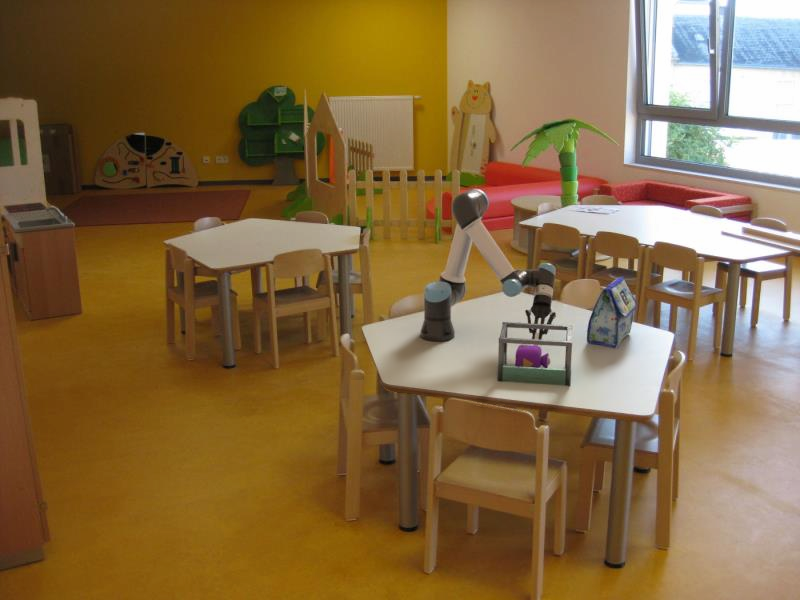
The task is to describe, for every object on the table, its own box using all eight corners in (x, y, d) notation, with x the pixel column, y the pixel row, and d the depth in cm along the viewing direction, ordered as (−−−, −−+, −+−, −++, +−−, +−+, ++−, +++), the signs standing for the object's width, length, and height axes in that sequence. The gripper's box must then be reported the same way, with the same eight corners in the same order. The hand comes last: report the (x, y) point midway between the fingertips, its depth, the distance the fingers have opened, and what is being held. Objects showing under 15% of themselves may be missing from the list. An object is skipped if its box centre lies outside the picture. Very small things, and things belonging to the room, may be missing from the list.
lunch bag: (622, 350, 359) (627, 290, 351) (584, 344, 367) (587, 285, 359) (636, 334, 377) (640, 277, 370) (599, 329, 385) (602, 273, 378)
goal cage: (497, 381, 327) (498, 338, 322) (501, 362, 346) (502, 321, 341) (570, 386, 322) (572, 342, 317) (570, 366, 341) (572, 325, 336)
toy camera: (550, 376, 332) (552, 352, 329) (515, 375, 333) (516, 351, 330) (548, 366, 342) (549, 342, 339) (513, 365, 343) (514, 342, 340)
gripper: (526, 292, 358) (518, 342, 348) (558, 294, 354) (550, 345, 344) (528, 300, 364) (520, 350, 354) (559, 303, 361) (551, 353, 350)
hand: (535, 348), depth 349 cm, fingers closed
